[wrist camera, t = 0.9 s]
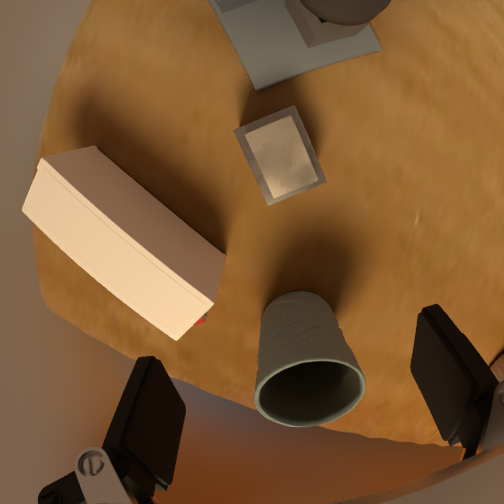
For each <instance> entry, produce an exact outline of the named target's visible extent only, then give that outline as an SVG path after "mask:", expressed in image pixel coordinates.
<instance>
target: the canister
mask: <svg viewBox="0 0 504 504" xmlns="http://www.w3.org/2000/svg"><path fill="white" fill-rule="evenodd" d="M490 369H491V371H492V372H493V374H494V375H495V377H496V378H497V379H498V381H499V382H501V381H503V380H504V354H502V355H501V356H500V357H499V358H498V359H497V360H496V361H495V362H494V364H492V366H491V367H490Z"/></svg>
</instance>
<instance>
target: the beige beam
mask: <svg viewBox="0 0 504 504" xmlns="http://www.w3.org/2000/svg"><path fill="white" fill-rule="evenodd" d="M37 169H38V171H37V173H36V176H35V178H34V180H33V183H32V185H31V188H30V190H29V192H28V195H27V198H26V200H25V203H24V206H23V208H22V211H23V212H24V213H25V214H26V215H27V216H28V217H29V218H30V219H31V220H32V221H33V222H34V223H35V224H36V225H37V226H38V227H39V228H40V229H41V230H42V231H43V232H44V233H45V234H46V235H47V236H48V237H49V238H50V239H51V240H52V241H53V242H54V243H55V244H56V245H57V246H58V247H60V248H61V249H62V250H63V251H64V252H65V253H66V254H67V255H68V256H69V257H70V258H72V259H73V260H74V261H75V262H76V263H77V264H78V265H79V266H81V267H82V268H83V269H84V270H85V271H86V272H88V273H89V274H90V275H91V276H92V277H93V278H95V279H96V280H97V281H98V282H99V283H101V284H102V285H103V286H104V287H105V288H107V289H108V290H109V291H110V292H112V293H113V294H114V295H115V296H116V297H118V298H119V299H120V300H122V301H123V302H124V303H125V304H127V305H128V306H129V307H131V308H132V309H133V310H134V311H136V312H137V313H138V314H140V315H141V316H142V317H144V318H145V319H146V320H148V321H149V322H150V323H152V324H153V325H155V326H156V327H157V328H159V329H160V330H161V331H163V332H164V333H166V334H167V335H169V336H170V337H171V338H173V339H174V340H176V341H177V340H178V339H179V338H180V337H181V336H182V335H183V334H184V333H185V332H186V331H187V330H188V329H189V328H190V327H191V326H192V325H196V324H200V323H204V322H205V320H206V316H207V312H208V310H209V309H210V308H211V307H212V306H213V305H214V303H215V299H216V295H217V291H218V287H219V283H220V279H221V275H222V271H223V267H224V263H225V259H226V255H225V254H224V253H221V252H220V251H219V250H218V249H216V248H215V247H214V246H213V245H212V244H210V243H209V242H208V241H207V240H205V239H204V238H203V237H202V236H201V235H199V234H198V233H197V232H196V231H194V230H193V229H192V228H191V227H190V226H188V225H187V224H186V223H185V222H184V221H182V220H181V219H180V218H179V217H178V216H176V215H175V214H174V213H173V212H171V211H170V210H169V209H168V208H167V207H165V206H164V205H163V204H162V203H161V202H159V201H158V200H157V199H156V198H155V197H154V196H152V195H151V194H150V193H149V192H148V191H146V190H145V189H144V188H143V187H142V186H140V185H139V184H138V183H137V182H136V181H134V180H133V179H132V178H131V177H130V176H129V175H127V174H126V173H125V172H124V171H123V170H122V169H120V168H119V167H118V166H117V165H116V164H114V163H113V162H112V161H111V160H110V159H109V158H107V157H106V156H105V155H104V154H103V153H102V152H100V151H99V150H98V149H97V147H96V146H95V145H94V146H89V147H84V148H80V149H75V150H71V151H66V152H62V153H58V154H54V155H50V156H46V157H42V158H41V160H40V162H39V164H38V166H37Z"/></svg>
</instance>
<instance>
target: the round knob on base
mask: <svg viewBox="0 0 504 504" xmlns="http://www.w3.org/2000/svg"><path fill="white" fill-rule="evenodd" d="M390 1H391V0H300V2H301V3H302V4H303V5H304V6H305V8H307V9H308V10H309V11H310V12H311V13H313V14H314V15H316V16H317V17H319V18H321V19H323V20H325V21H328V22H330V23H334V24H338V25H344V26H355V25H361V24H364V23H367V22H369V21H370V20H372V19H373V18H374V17H376V16H377V15H378V14H379V13H380V12H382V11H383V10H384V9H385V8H386V7H387V6H388V5H389V3H390Z"/></svg>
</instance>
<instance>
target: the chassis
mask: <svg viewBox="0 0 504 504" xmlns="http://www.w3.org/2000/svg"><path fill="white" fill-rule="evenodd" d="M208 1H209V3H210V5H211V7H212V8H213V10H214V12H215V14H216V16H217V17H218V19H219V21H220V23H221V25H222V26H223V28H224V30H225V32H226V34H227V36H228V37H229V39H230V41H231V43H232V45H233V47H234V49H235V51H236V53H237V54H238V56H239V58H240V60H241V62H242V64H243V66H244V68H245V70H246V72H247V74H248V76H249V78H250V80H251V82H252V84H253V86H254V88H255V90H256V92H257V91H259V90H261V89H264V88H266V87H269V86H271V85H274V84H277V83H279V82H282V81H285V80H287V79H290V78H293V77H296V76H298V75H301V74H304V73H307V72H310V71H313V70H316V69H319V68H322V67H325V66H329V65H332V64H335V63H339V62H342V61H345V60H349V59H353V58H356V57H360V56H364V55H368V54H372V53H376V52H378V51H380V50H382V48H381V46H380V44H379V42H378V40H377V38H376V36H375V34H374V32H373V30H372V28H371V26H370V23H369V22H367V23H364V24H361V25H355V26H344V25H338V24H334V23H330V22H328V21H325V20H323V19H321V18H319V17H317V16H316V15H314V14H313V13H311V12H310V11H309V10H308V9H307V8H305V6H304V5H303V4H302V3H301V2H300V0H208Z"/></svg>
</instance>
